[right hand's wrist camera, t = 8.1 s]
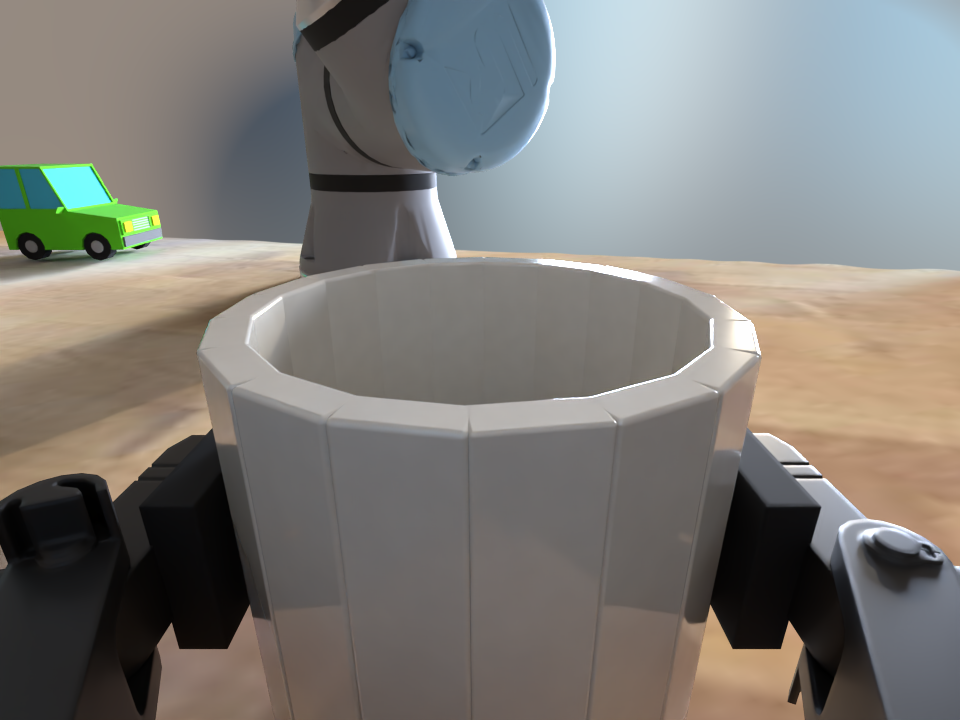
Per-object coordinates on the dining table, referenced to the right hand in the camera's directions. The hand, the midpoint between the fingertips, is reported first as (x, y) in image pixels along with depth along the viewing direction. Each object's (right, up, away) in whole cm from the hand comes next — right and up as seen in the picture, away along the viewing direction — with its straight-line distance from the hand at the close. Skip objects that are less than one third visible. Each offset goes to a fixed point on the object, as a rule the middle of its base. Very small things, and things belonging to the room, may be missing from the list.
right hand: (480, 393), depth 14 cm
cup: (0, -8, -2) cm, 8 cm away
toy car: (-46, +13, +51) cm, 70 cm away
